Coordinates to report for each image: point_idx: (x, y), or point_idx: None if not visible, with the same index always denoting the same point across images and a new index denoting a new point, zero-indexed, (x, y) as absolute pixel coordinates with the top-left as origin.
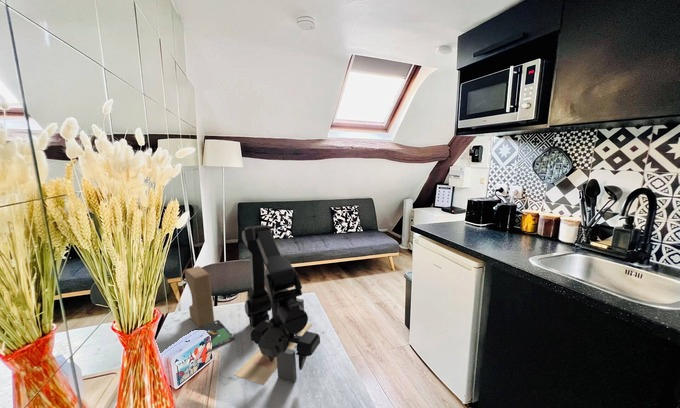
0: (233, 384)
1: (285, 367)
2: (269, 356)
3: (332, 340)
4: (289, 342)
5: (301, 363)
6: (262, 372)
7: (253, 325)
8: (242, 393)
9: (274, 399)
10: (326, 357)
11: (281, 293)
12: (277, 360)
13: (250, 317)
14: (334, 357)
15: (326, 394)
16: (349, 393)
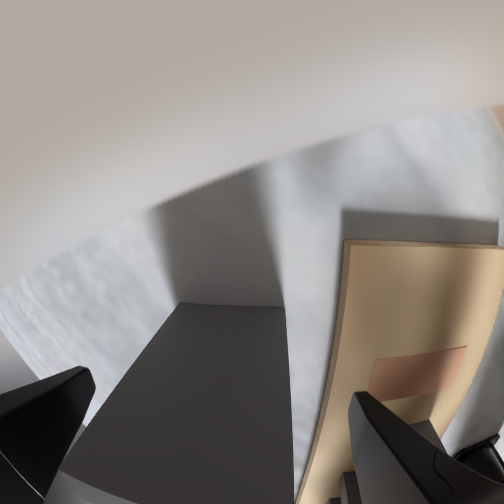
0: (489, 213)
1: (199, 377)
2: (384, 424)
3: None
4: (340, 480)
5: (18, 388)
6: (401, 322)
7: (487, 454)
8: (431, 174)
9: (234, 193)
10: None
11: None
12: (282, 417)
13: (501, 466)
14: None
15: (50, 302)
16: (15, 322)
